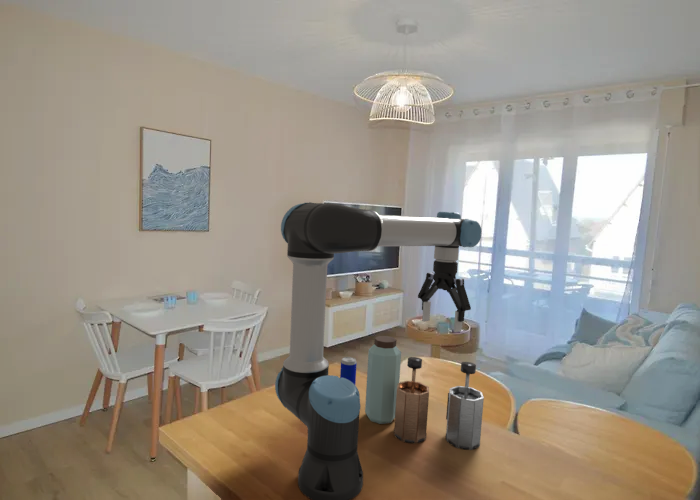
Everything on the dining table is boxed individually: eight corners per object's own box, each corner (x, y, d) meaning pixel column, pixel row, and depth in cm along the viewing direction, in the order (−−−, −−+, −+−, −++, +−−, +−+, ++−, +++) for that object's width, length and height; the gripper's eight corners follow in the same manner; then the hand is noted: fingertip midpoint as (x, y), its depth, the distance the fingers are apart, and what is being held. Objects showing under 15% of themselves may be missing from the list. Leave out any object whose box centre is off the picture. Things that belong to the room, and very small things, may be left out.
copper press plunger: (412, 402, 113) (414, 365, 112) (396, 393, 119) (398, 357, 118) (429, 397, 117) (431, 361, 116) (412, 388, 123) (415, 354, 122)
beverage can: (336, 401, 138) (338, 357, 136) (350, 398, 140) (352, 355, 139) (342, 407, 133) (344, 362, 132) (356, 405, 135) (359, 361, 134)
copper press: (409, 446, 113) (412, 397, 111) (384, 429, 121) (387, 383, 120) (433, 437, 118) (436, 390, 117) (408, 421, 126) (411, 377, 125)
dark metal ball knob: (467, 408, 112) (470, 370, 111) (448, 398, 117) (451, 362, 116) (482, 402, 115) (485, 366, 115) (464, 393, 121) (466, 358, 120)
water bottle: (396, 411, 133) (401, 335, 130) (397, 427, 123) (402, 345, 121) (365, 408, 134) (370, 333, 131) (363, 423, 124) (368, 342, 122)
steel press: (464, 453, 111) (468, 403, 110) (436, 435, 119) (439, 388, 118) (486, 443, 116) (490, 395, 115) (458, 427, 125) (461, 382, 123)
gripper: (486, 265, 123) (480, 334, 125) (425, 255, 143) (421, 315, 145) (469, 266, 119) (464, 338, 121) (410, 256, 139) (406, 317, 141)
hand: (441, 325), depth 133 cm, fingers open, 13 cm apart
